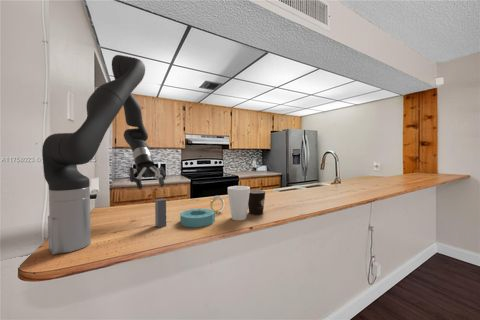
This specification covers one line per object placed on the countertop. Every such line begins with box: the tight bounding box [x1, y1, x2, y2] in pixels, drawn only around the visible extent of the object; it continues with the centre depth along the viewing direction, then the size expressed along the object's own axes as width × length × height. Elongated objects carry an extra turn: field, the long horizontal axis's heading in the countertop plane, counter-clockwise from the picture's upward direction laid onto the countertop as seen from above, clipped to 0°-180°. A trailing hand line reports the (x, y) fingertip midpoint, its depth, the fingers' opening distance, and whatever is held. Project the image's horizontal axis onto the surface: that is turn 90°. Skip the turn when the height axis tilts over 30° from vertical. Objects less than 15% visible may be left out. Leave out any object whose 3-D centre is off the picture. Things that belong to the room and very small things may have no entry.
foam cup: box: [227, 185, 251, 221], centre depth 87 cm, size 10×9×13 cm
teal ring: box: [179, 208, 216, 228], centre depth 83 cm, size 13×13×4 cm
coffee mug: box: [248, 189, 266, 216], centre depth 95 cm, size 12×9×10 cm
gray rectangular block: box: [154, 198, 167, 229], centre depth 78 cm, size 3×3×10 cm
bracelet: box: [209, 195, 226, 214], centre depth 96 cm, size 7×3×8 cm, turn 115°
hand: (152, 187), depth 85 cm, fingers open, 8 cm apart
